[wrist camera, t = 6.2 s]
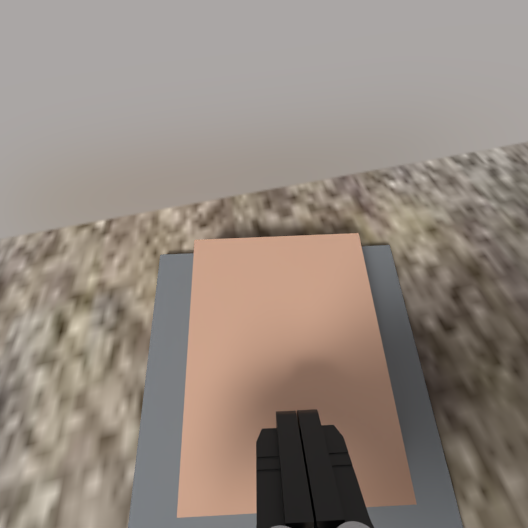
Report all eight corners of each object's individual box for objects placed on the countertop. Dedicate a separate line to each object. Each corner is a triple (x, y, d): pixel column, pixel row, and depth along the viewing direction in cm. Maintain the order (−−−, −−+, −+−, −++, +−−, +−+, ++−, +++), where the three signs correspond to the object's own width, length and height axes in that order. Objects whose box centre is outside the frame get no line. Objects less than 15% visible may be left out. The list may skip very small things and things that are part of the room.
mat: (385, 249, 19) (389, 245, 19) (474, 599, 12) (484, 608, 12) (163, 259, 19) (160, 254, 19) (122, 621, 12) (115, 630, 11)
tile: (396, 492, 13) (349, 250, 19) (416, 504, 12) (358, 233, 17) (188, 503, 13) (201, 256, 18) (176, 517, 11) (194, 239, 17)
